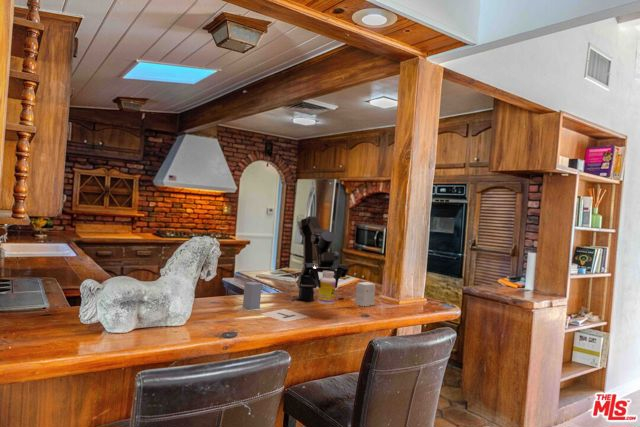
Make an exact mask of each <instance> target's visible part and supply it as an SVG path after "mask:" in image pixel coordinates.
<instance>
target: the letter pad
mask: <svg viewBox="0 0 640 427" xmlns="http://www.w3.org/2000/svg"><path fill="white" fill-rule="evenodd" d="M260 314H261V315H263V316H266V317H269V318H272V319H275V320H278V321H280V322H284V323H286V322H291V321H295V320H301V319H305V318H309V317H310V316H308V315H306V314H303V313H300V312H295V311H292V310H290V309H289V310H288V309H285V308H282V309H278V310H272V311H267V312H261V313H260Z"/></svg>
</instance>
